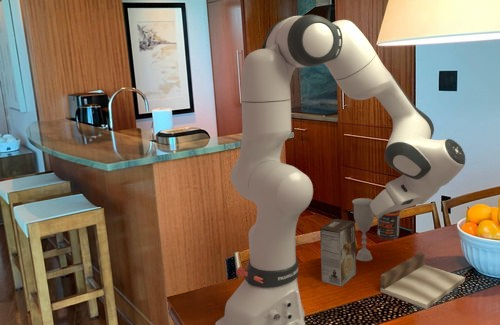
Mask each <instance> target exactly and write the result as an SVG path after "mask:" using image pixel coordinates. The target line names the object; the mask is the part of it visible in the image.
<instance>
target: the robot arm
mask: <svg viewBox="0 0 500 325" xmlns="http://www.w3.org/2000/svg"><path fill="white" fill-rule="evenodd" d="M242 65H243V67H242V73H241V83H240V84H241V86H240V87H241V89H240V91H241V92H240V99H241V102H240V103H241V124H242V130H241V131H242V136H241V145H240V148H239V154H238V158H237V160H236V161H235V163H234V164H233V165H232V166H231V167H232V168H231V170H230V176H229V178H230V179H229V180H230V183H231V185H232V187H233V189H234V190H235V191H236V192H237V193H238V194H239V195H240V196H241V197H243V198H244V199H245V200H248V201H250V202H252V203H254V204H255V205H256V208H257V212H256V217H255V218H256V220H255V223H254V224H253V225H252V226H250V229H249V230H248V235H247V236H248V249H249V252H248V253H249V260H248V264H247V267H246V269H245V268H243V267H242V266H239V267H238V268H237V269H236V272H235V273H236V275H238V276H240V277H241V278H244V280H243V281H242V282H241V284H240V285H239V286H238V288H236V290H235V291H234V292H233V294H232V295H231V296H230V297H229V298H228V300H227V301H226V303H225V307H224V316H222V317H221V318H219V319H218V320H217V321H215V324H214V325H306V321H305V316H306V315H305V314H306V312H305V310H304V307H303V303H302V301H301V294H300V289H299V283H298V277H299V265H298V264H299V263H298V259H297V257H296V256H297V254H296V233H297V232H296V231H297V225H298V220H299V217H300V215H301V214H302V213H303V212H304V211H305V210H306V209H307V208H309V205H310V204H311V201H312V200H313V195H314V188H313V187H314V185H313V183H312V181H311V179H310V177H309V176H308V175H307V174H305V173H304V172H302V171H301V170H300V169H298V168H297V167H295V166H293V165H290V164H287V163H285V162H281V155H282V150H283V146H284V144H285V142H286V140H288V139H289V137H290V136H291V134H292V100H291V97H292V96H291V81H292V80H291V79H292V76H293V73H294V71H295V70H296V69H297V68H307V67H308V68H309V67H311V68H312V67H318V66H320V65H325V67H326V68H327V69H328V70H329V73H330V74H331V76H332V77H333V79H334V81H335V82H336V84H337V86H338V87H339V89H340V90H341V91H342V92H343V93H344V94H345V95H346V96H347V97H348V98H350V99H352V100H357V101H363V100H364V101H365V100H368V99H371V98H374V97H375V98H376V99H377V100H378V101H379V103H381V106H383V108H384V109H385V111H387V113H388V114H389V116H390V117H391V120H392V131H391V134H390V137H389V140H388V142H387V145H386V148H385V151H384V159H385V161H386V164H388V166H389V167H390V168H391V169H393V170H394V171H396V172H397V173H399V174H402V175H401V176H399V177H396V178H394V179H391V181H388V182H387V183H386V184H385V189H383V190H382V191H381V192H379V194H377V196H375V198H374V199H372V200H373V201H372V202H371V204H370V208H371V210H372V212H373V213H374V217H376V219H377V220H378V219H379V218H382V217H383V216H384V214H388V213H391V212H394V211H398V210H400V213H401V212H402V211H403V210H406V209H408V208H410V207H414V206H417V205H423V204H425V203H427V201H428V200H430V199H431V198H432V197H433V196H434V195H435V194H437V193H438V191H439V190H440V188H442V187H443V186H446V185H448V184H449V183H450V182H451V181H452V180H453V179H455V177H457V175H459V173H460V172H461V171H462V170H463V168H464V167H465V164H466V154H465V152H464V149H463V148H462V146H461V145H460V144H459V143H458V142H457V141H455V140H454V139H451V138H446V139H432V137H433V135H434V132H435V127H434V123H433V121H432V119H431V118H430V117H429V116H428V115H426V113H424V112H423V111H421V110H420V109H419V108H418V107H417V106H416V105H415V104H414V103H413V102H412V100H411V99H410V97H409V96H408V95H407V93H406V92H405V90H404V89H403V87H402V86H401V85H400V83H399V82H398V80H397V79H396V78H395V76H394V75H393V74H392V73H391V71H389V70H388V69H387V68H386V67H385V65H384V64H383V62H382V61H381V58H380V57H379V55H378V54H377V51H375V49H374V48H373V46H372V44H371V43H370V42H369V40H368V38H366V36H365V35H364V33H363V32H362V31H361V30H360V29H359V28H358V26H357V25H356V24H355V23H354V22H352V21H351V20H349V19H348V20H347V19H340V20H336V21H333V22H331V21H330V20H328V19H326V18H325V17H322V16H320V15H315V14H306V15H294V16H290V17H287V18H285V19H281V20H279V21H277V22H276V23H274V24H273V26H272V27H271V28H270V29H269V30H268V32H267V35H266V37H265V40H264V41H263V43H262V46H261V48H260V49H259V48H258V49H255V50H254V51H251V52H250V53H248V55H246V57H245V58H244V62H243V64H242Z"/></svg>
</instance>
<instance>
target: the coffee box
mask: <svg viewBox="0 0 500 325" xmlns="http://www.w3.org/2000/svg"><path fill="white" fill-rule="evenodd" d="M319 232H320V233H319V234H320V259H321V260H320V263H321V264H320V265H321V266H320V267H321V281H322V283H326V284H329V285H334V286H338V287H343V286H344V285H345V284H347V283H348V282H349V281H350V280H351V279H352V278H354V276H356V274H357V265H356V264H357V259H356V256H357V254H356V222H355V221H354V220H353V221H352V220H346V219H340V218H334V219H332V220H331V221H329V222H327V223H326V224H325V225H323V226H322V227H320V229H319Z"/></svg>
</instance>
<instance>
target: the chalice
mask: <svg viewBox="0 0 500 325" xmlns="http://www.w3.org/2000/svg"><path fill="white" fill-rule="evenodd" d="M373 200H374V199H371V198H367V197H366V198H364V197H362V198H355V199H353V200H351V202H352V204H353V218H354V222H355V225H357V228H358V229H359V231H361V232H362V236H361V239H362V241H361V243H360V244H361V245H362V248H361V249H359V250H358V251H357V254H356V261H357V260H358V261H361V262H370V261H372V260H373V256H372V254H371V251H370V250H369V249H368V248H366V247H367V244H368V242H367V241H366V240H367V238H368V236H367V235H366V234H367V232H368V231H369V230H370V228H371V227H372V225H373V222H374V219H375V215H374V213H373V212H372V210H371V208H370V204H371V202H372V201H373Z"/></svg>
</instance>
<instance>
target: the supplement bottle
mask: <svg viewBox="0 0 500 325" xmlns="http://www.w3.org/2000/svg"><path fill="white" fill-rule="evenodd" d="M400 213H401V212H400V210H398V211H394V212H391V213H388V214H384V216H383V217H382V218H379V219H377V237H378V239H380V240H382V241H395V240H398V239H399V237H400V218H401V217H400Z"/></svg>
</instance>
